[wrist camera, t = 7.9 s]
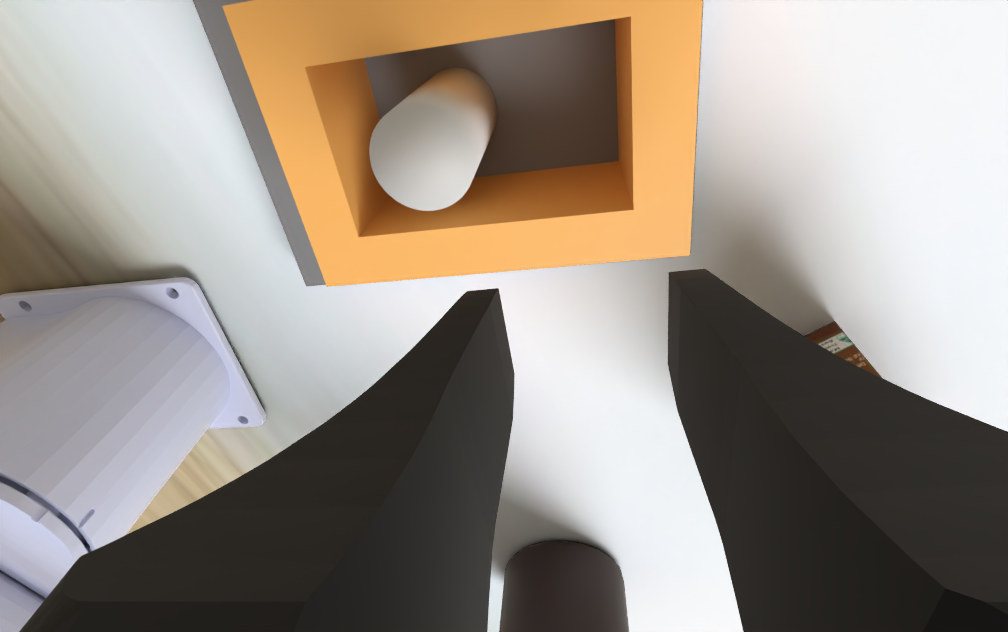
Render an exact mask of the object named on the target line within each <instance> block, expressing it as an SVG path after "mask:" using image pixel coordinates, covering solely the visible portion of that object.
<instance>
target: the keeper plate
mask: <svg viewBox="0 0 1008 632" xmlns="http://www.w3.org/2000/svg"><path fill="white" fill-rule="evenodd" d="M247 1H252V0H193V2H194V4H195V7H196V9H197V12H198V14H199V17H200V19H201V22H202V24H203V27H204V29H205V32H206V34H207V37H208V39H209V42H210V44H211V47H212V50H213V52H214V55H215V57H216V60H217V62H218V65H219V67H220V70H221V72H222V75H223V77H224V80H225V82H226V85H227V87H228V90H229V92H230V95H231V97H232V100H233V102H234V105H235V108H236V110H237V113H238V115H239V118H240V120H241V123H242V125H243V128H244V130H245V133H246V135H247V138H248V140H249V143H250V145H251V148H252V150H253V153H254V155H255V158H256V160H257V163H258V166H259V168H260V171H261V173H262V176H263V178H264V181H265V183H266V186H267V188H268V191H269V193H270V196H271V198H272V201H273V203H274V206H275V208H276V211H277V213H278V216H279V218H280V221H281V224H282V226H283V229H284V231H285V234H286V236H287V239H288V241H289V244H290V246H291V249H292V251H293V254H294V256H295V259H296V261H297V264H298V266H299V269H300V271H301V274H302V276H303V279H304V282H305V284H306V286H315V285H326V283H325V281H324V278H323V275H322V272H321V270H320V267H319V264H318V262H317V259H316V256H315V254H314V251H313V248H312V246H311V243H310V240H309V238H308V235H307V232H306V230H305V227H304V224H303V222H302V219H301V216H300V213H299V211H298V208H297V205H296V203H295V200H294V197H293V195H292V192H291V189H290V187H289V184H288V181H287V179H286V176H285V173H284V171H283V168H282V165H281V163H280V160H279V157H278V154H277V152H276V149H275V146H274V144H273V141H272V138H271V136H270V133H269V130H268V128H267V125H266V122H265V120H264V117H263V114H262V112H261V109H260V106H259V104H258V101H257V98H256V95H255V93H254V90H253V87H252V85H251V82H250V79H249V77H248V74H247V71H246V69H245V66H244V63H243V61H242V58H241V55H240V53H239V50H238V47H237V45H236V42H235V39H234V36H233V34H232V31H231V28H230V26H229V23H228V20H227V18H226V15H225V12H224V10H223V7H222V6H225V5H230V4H236V3H241V2H247ZM702 17H703V4H702ZM701 37H702V24H701ZM700 57H701V44H700ZM364 60H365V64H366V68H367V71H368V75H369V79H370V83H371V87H372V91H373V95H374V98H375V102H376V106H377V110H378V114H379V118H380V121H379V122H378V124H377V125H376V127H375V129H374V131H373V133H372V136H371V140H370V147H369V155H370V162H371V167H372V170H373V172H374V175H375V177H376V179H377V181H378V182H379V184H380V185H381V187H382V188H383V189H384V190H385V191H386V192H387V193H388V194H389V195H390V196H391V197H392V198H393V199H395V200H396V201H398V202H399V203H401V204H403V205H405V206H407V207H410V208H413V209H416V210H422V211H435V210H440V209H443V208H446V207H449V206H451V205H452V204H454V203H456V202H457V201H458V200H459V199H461V198H462V197H463V195H464V194H465V193H466V192H467V190H468V189H469V187H470V185H471V183H472V180H473V178H475V177H484V176H493V175H501V174H510V173H519V172H528V171H536V170H545V169H554V168H563V167H571V166H580V165H589V164H598V163H606V162H615V161H619V149H618V113H617V77H616V40H615V19H611V20H605V21H598V22H592V23H585V24H579V25H573V26H566V27H560V28H553V29H547V30H540V31H534V32H528V33H521V34H515V35H508V36H502V37H495V38H489V39H482V40H476V41H470V42H463V43H457V44H450V45H444V46H437V47H431V48H425V49H418V50H412V51H405V52H399V53H392V54H386V55H379V56H373V57H367V58H364ZM699 77H700V64H699ZM698 96H699V84H698ZM697 116H698V104H697ZM696 136H697V125H696ZM695 156H696V145H695ZM694 176H695V165H694ZM693 196H694V185H693ZM692 216H693V205H692ZM691 236H692V225H691ZM690 253H691V246H690Z"/></svg>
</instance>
